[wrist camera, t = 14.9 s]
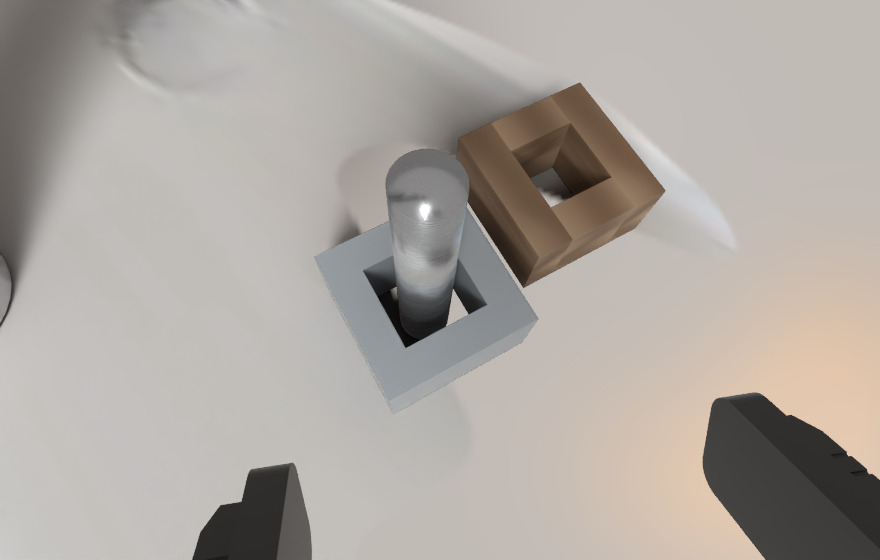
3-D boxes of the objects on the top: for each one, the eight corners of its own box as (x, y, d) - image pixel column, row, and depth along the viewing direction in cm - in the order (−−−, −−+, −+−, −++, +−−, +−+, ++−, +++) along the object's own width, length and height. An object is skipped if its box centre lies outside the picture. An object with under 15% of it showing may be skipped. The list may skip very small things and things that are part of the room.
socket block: (393, 414, 32) (389, 401, 28) (327, 288, 35) (313, 256, 30) (522, 342, 34) (538, 318, 30) (450, 227, 37) (454, 189, 32)
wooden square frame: (523, 287, 36) (539, 257, 31) (453, 181, 38) (458, 137, 34) (634, 228, 37) (665, 190, 33) (561, 130, 40) (580, 82, 35)
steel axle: (414, 348, 34) (410, 235, 19) (391, 307, 35) (371, 169, 20) (456, 325, 35) (485, 199, 20) (433, 286, 35) (443, 136, 20)
